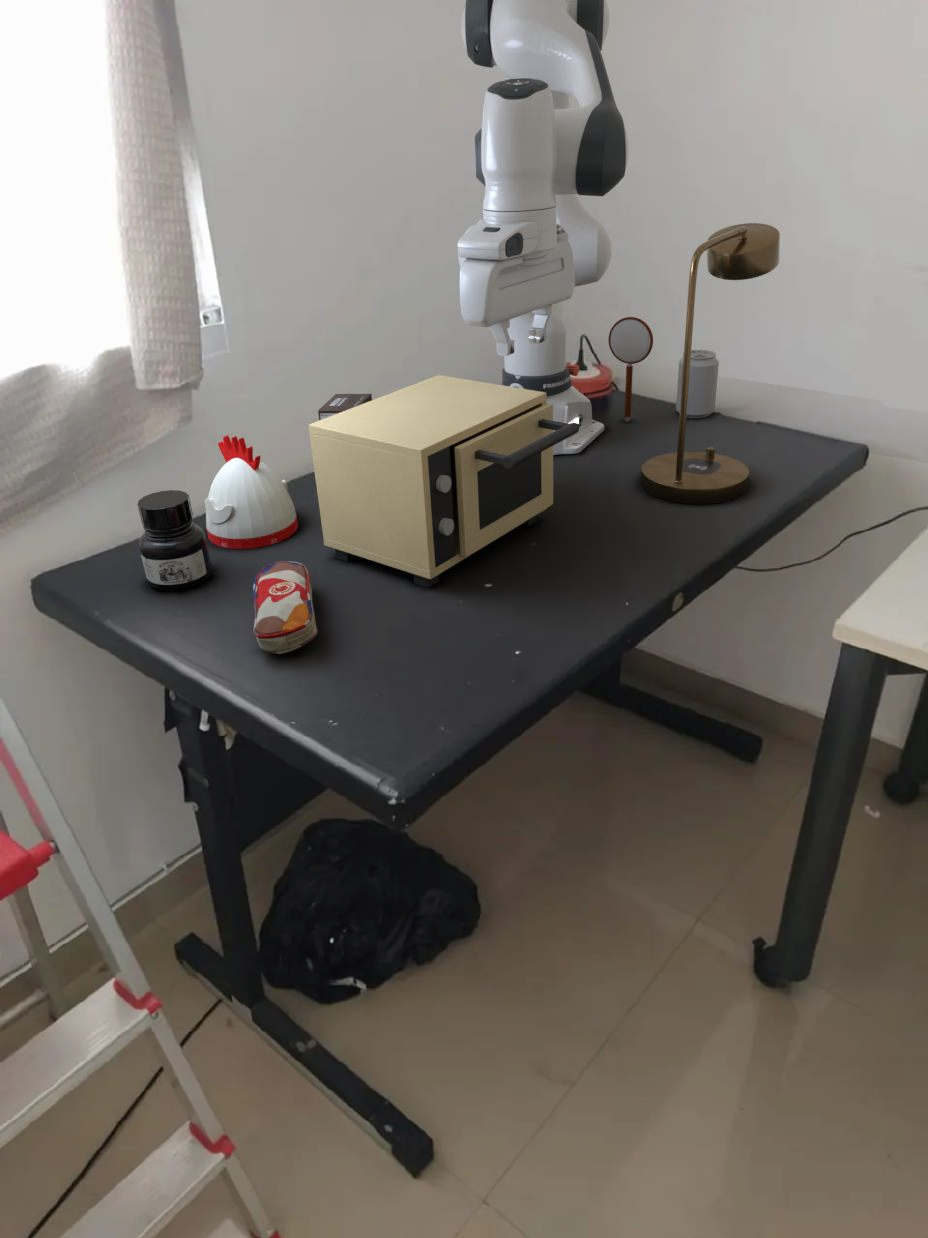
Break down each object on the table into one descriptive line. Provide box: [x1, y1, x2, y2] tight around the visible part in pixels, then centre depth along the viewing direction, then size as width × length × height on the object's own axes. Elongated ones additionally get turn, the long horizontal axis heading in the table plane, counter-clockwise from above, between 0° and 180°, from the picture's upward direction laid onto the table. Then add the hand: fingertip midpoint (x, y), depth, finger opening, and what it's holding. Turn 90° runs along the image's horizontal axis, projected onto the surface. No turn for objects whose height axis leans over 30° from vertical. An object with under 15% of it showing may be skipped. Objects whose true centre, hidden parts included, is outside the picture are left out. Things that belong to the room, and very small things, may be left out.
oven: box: [308, 374, 548, 589], centre depth 136 cm, size 28×21×20 cm
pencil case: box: [252, 560, 319, 655], centre depth 120 cm, size 11×20×5 cm, turn 177°
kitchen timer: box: [204, 434, 299, 550], centre depth 144 cm, size 14×14×15 cm
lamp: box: [640, 222, 781, 505], centre depth 149 cm, size 17×27×38 cm, turn 145°
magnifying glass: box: [608, 316, 654, 423], centre depth 179 cm, size 9×2×20 cm, turn 62°
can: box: [675, 349, 720, 419], centre depth 184 cm, size 8×8×12 cm
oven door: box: [455, 403, 579, 558], centre depth 130 cm, size 22×7×15 cm, turn 142°
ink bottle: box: [136, 489, 212, 592], centre depth 131 cm, size 10×9×12 cm
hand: (521, 348), depth 121 cm, fingers open, 6 cm apart
